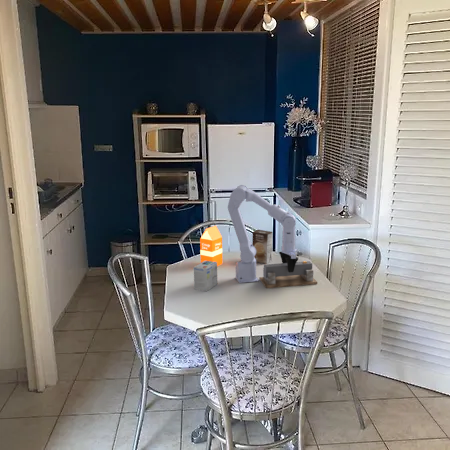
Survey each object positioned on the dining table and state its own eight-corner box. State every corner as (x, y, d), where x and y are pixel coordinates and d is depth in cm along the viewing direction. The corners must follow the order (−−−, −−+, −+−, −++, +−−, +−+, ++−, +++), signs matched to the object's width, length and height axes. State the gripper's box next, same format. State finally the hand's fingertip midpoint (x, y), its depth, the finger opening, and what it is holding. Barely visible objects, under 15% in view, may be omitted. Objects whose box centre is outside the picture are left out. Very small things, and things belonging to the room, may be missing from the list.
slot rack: (266, 288, 211) (266, 275, 210) (259, 279, 222) (259, 267, 221) (317, 284, 216) (317, 271, 214) (307, 275, 227) (308, 263, 226)
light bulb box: (205, 282, 220) (204, 259, 217) (218, 284, 217) (217, 261, 214) (193, 289, 210) (193, 266, 208) (207, 292, 208) (206, 268, 205)
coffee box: (251, 261, 250) (251, 231, 246) (257, 258, 255) (257, 229, 251) (267, 264, 245) (267, 234, 241) (272, 260, 250) (273, 231, 247)
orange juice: (200, 265, 243) (199, 227, 239) (210, 261, 251) (210, 224, 246) (212, 268, 239) (212, 229, 235) (222, 263, 246) (222, 226, 242)
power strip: (266, 277, 214) (266, 265, 213) (263, 275, 218) (263, 263, 216) (312, 273, 219) (312, 262, 217) (309, 271, 222) (309, 260, 221)
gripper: (302, 244, 208) (301, 273, 212) (291, 236, 222) (291, 264, 225) (287, 245, 207) (286, 275, 210) (277, 237, 221) (276, 265, 224)
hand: (288, 269), depth 218 cm, fingers open, 7 cm apart
